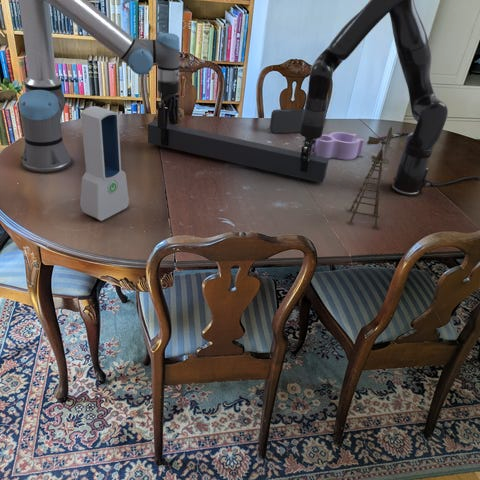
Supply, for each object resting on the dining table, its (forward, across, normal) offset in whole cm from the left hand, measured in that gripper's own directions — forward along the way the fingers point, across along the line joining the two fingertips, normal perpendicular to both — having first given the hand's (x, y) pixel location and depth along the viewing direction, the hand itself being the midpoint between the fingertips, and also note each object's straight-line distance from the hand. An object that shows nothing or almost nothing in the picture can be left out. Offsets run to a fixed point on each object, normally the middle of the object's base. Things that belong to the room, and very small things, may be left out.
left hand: (168, 142), depth 179 cm
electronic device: (+3, -52, -6) cm, 52 cm away
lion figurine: (+3, +19, +9) cm, 21 cm away
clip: (+3, +32, -60) cm, 68 cm away
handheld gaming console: (+3, +47, -39) cm, 61 cm away
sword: (+3, +64, -80) cm, 103 cm away
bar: (+1, 0, -27) cm, 27 cm away
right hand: (-2, 0, -54) cm, 54 cm away
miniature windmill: (+3, -19, -77) cm, 80 cm away
